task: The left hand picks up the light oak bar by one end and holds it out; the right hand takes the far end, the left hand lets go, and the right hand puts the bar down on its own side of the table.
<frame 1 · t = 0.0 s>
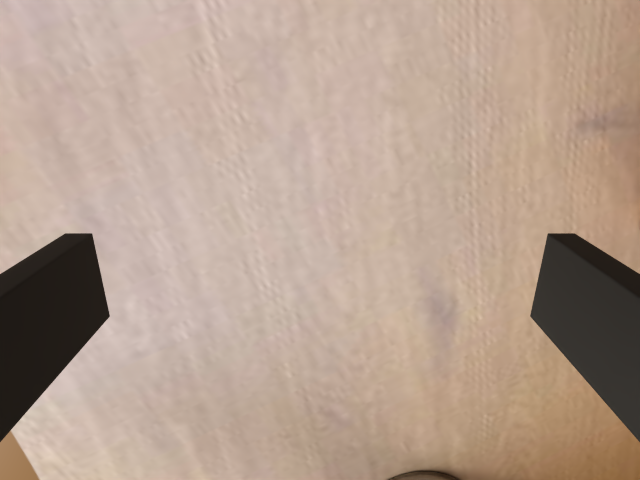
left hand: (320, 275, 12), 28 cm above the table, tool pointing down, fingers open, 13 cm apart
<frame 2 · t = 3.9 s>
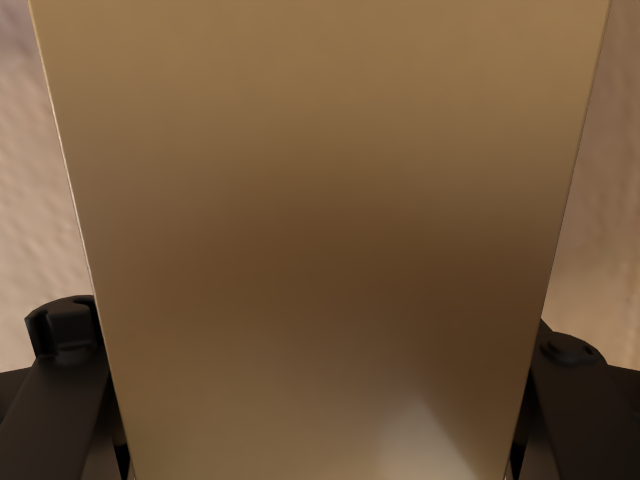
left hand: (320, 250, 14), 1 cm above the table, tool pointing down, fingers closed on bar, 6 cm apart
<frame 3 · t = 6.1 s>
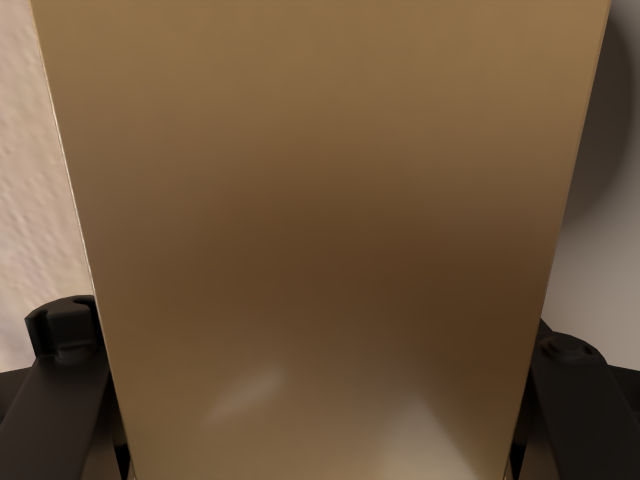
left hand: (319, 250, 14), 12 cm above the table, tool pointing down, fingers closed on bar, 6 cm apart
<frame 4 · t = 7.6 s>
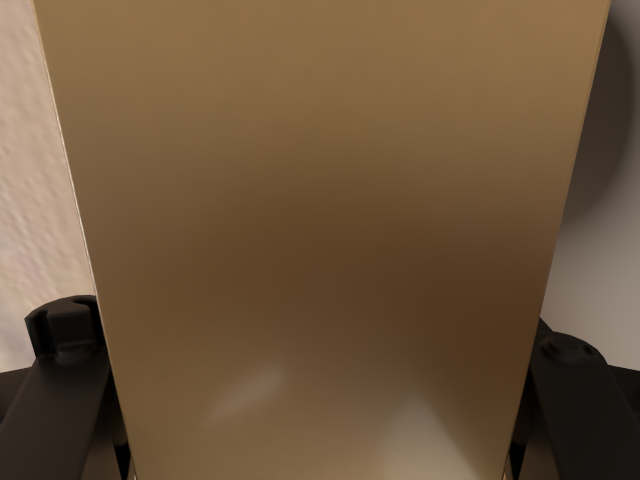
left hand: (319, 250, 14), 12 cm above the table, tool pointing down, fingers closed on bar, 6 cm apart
when the left hand's fingers open (12 cm above the table, at t = 8.6 s): bar stays where it is, held by the right hand.
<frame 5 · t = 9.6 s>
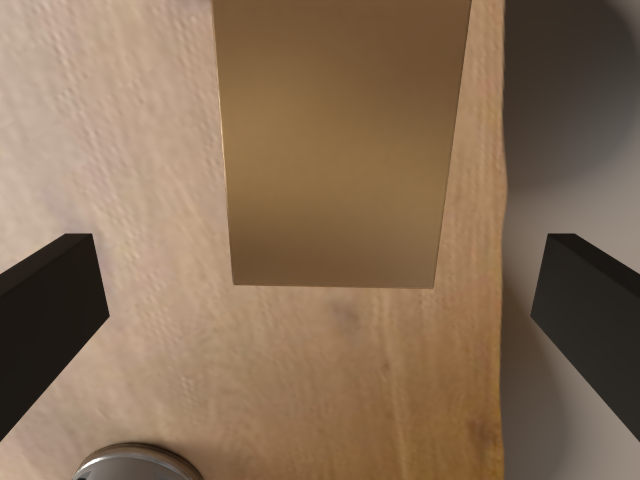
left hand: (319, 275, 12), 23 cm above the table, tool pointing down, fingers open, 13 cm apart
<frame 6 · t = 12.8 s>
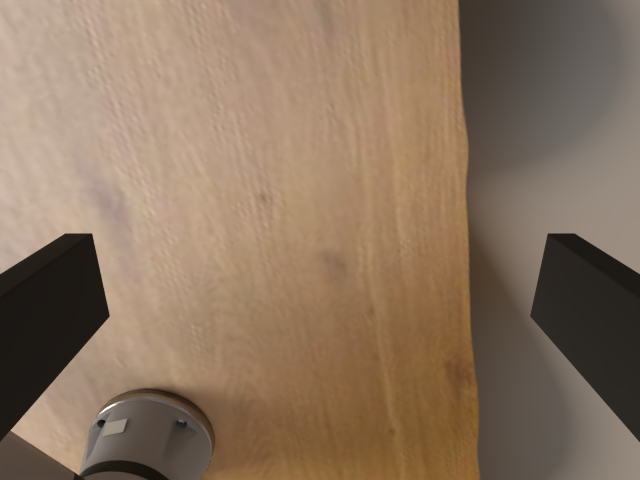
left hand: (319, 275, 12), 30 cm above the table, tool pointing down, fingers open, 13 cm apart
when the right hand's fingers open (4 cm above the table, at t = 17.9 s): bar stays where it is, on the table.
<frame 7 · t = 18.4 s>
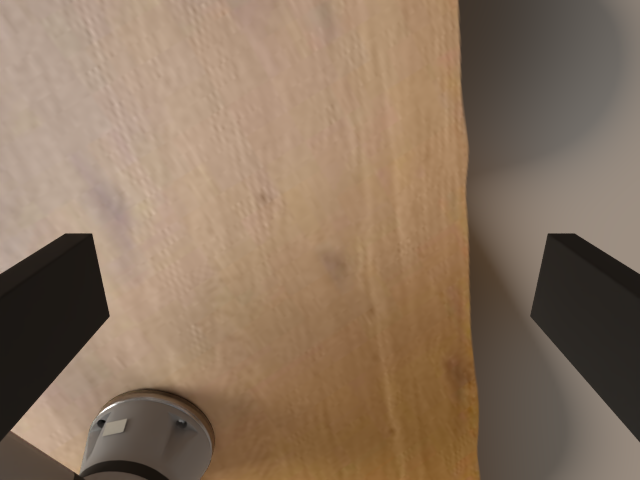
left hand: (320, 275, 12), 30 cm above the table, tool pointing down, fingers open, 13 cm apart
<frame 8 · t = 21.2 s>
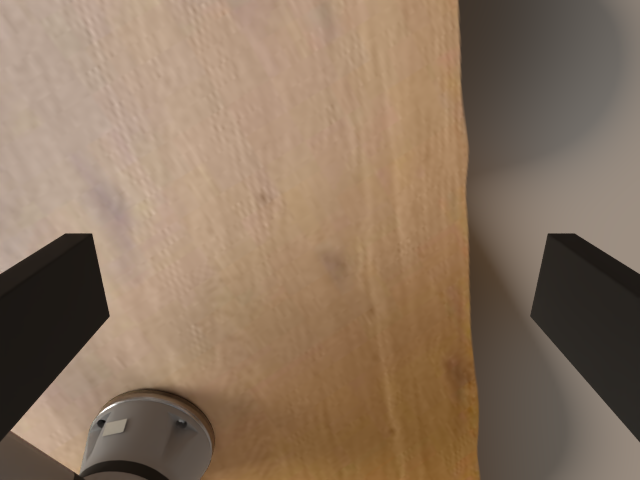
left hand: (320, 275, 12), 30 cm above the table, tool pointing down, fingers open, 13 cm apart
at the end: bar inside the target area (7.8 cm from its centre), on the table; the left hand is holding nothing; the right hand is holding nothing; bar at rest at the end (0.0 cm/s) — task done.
